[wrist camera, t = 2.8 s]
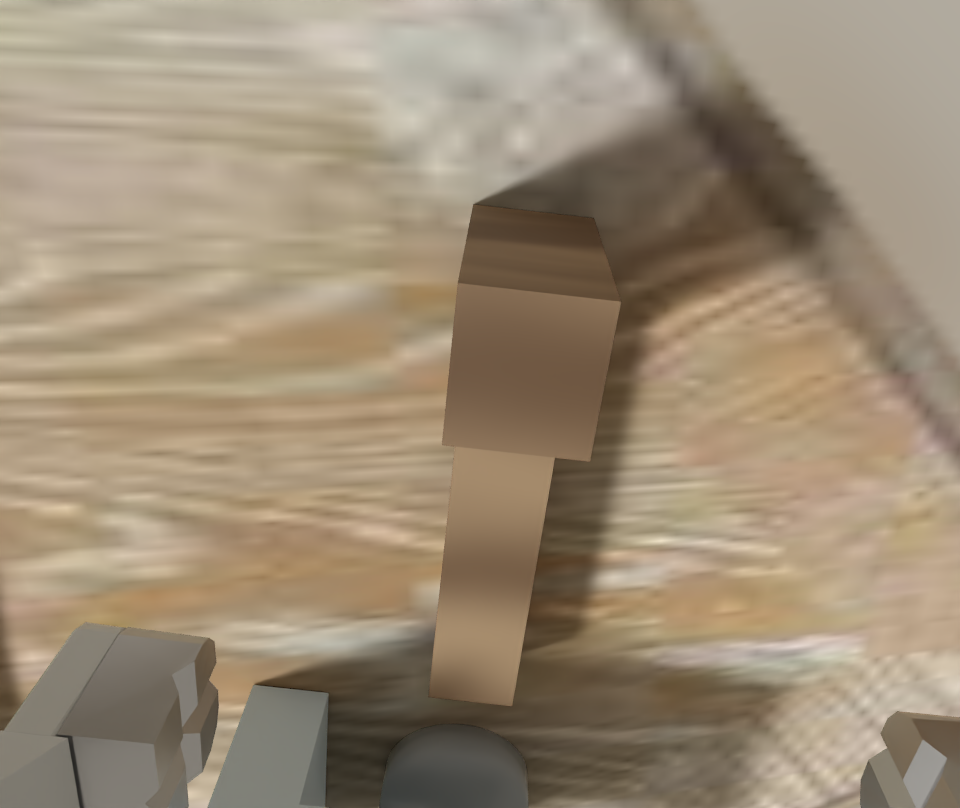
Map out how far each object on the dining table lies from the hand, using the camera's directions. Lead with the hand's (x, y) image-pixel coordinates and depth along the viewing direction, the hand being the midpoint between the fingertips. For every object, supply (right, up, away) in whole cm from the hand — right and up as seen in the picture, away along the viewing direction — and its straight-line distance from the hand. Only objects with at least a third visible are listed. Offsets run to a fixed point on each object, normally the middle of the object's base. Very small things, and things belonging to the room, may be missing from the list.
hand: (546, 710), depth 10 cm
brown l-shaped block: (0, +2, +18) cm, 18 cm away
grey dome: (-2, -12, +25) cm, 28 cm away
